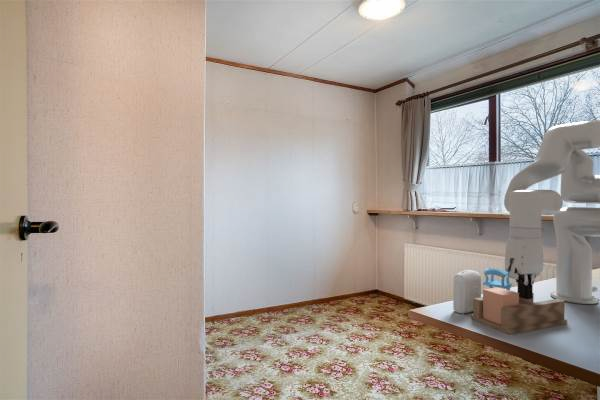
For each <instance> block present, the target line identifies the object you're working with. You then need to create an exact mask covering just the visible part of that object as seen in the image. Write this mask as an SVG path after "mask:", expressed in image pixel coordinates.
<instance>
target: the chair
mask: <svg viewBox="0 0 600 400" xmlns="http://www.w3.org/2000/svg"><path fill="white" fill-rule="evenodd" d="M483 274H484V276H485V280H484V281H483V282H482V285H483V286H487V287H488V288H497V287H499V288H503V289H506V290H510V291H511V287H512V286H513V283H512V282H510V272H507V271H505V269H504V270H500V269H498V268H491V267H487V268H485V269H483ZM489 275H490V278H489ZM494 276H498V277H500V278H501V280H500V281H499V280H495V278H494ZM505 278H506V279H505ZM505 280H506V281H505Z"/></svg>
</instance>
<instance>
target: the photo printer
mask: <svg viewBox="0 0 600 400" xmlns="http://www.w3.org/2000/svg"><path fill="white" fill-rule="evenodd" d="M453 277H454V278H453V291H452V292H453V299H452V300H453V301H452V302H453V306H452V307H453V311H454V312H456V313H459V314H468V313H471V312H473V298H480V297H482V276H481V274H480V272H478V271H476V270H475V269H474V270H473V269H472V270H471V269H464V270H462V271H459V272H457V273H456V275H455V276H453Z"/></svg>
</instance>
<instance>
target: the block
mask: <svg viewBox="0 0 600 400" xmlns="http://www.w3.org/2000/svg"><path fill="white" fill-rule="evenodd" d="M517 292H518V291H514V290H513V291H512V290H511V289H510V290H506V289H503V288H499V287H493V288H490V287H488V288H483V289H482V297H483V318H485V319H487V320H490V321H492V322H495V323H497V324H500V325H501V308H502V307H509V306H515V305H519V293H517Z"/></svg>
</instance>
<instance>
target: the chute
mask: <svg viewBox="0 0 600 400" xmlns="http://www.w3.org/2000/svg"><path fill="white" fill-rule="evenodd" d="M516 292H517V293H518V291H516ZM565 303H566V301H563V300H559V299H556V298H553V299H547V300H542V301H535V302H534V292H532V299H524V298H521V297H519V305H515V306H509V307H502V308H501V325H500V324H497V323H495V322H492V321H490V320H487V319H485V318H483V296H481V297H480V298H473V311H472V313H473V314H471V315H470V316H471V317H470V318H471V319H472V320H473V321H477V322H478V323H481V324H483V325H486V326H489V327H490V328H494V329H496V330H498V331H501V332H504V333H506V334H509V335H515V334H520V333H525V332H530V331H537V330H540V329H545V328H550V327H551V328H552V327H555V326H562V325H566V324H568V319H566V318H565V308H566V307H565V305H566V304H565Z"/></svg>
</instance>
